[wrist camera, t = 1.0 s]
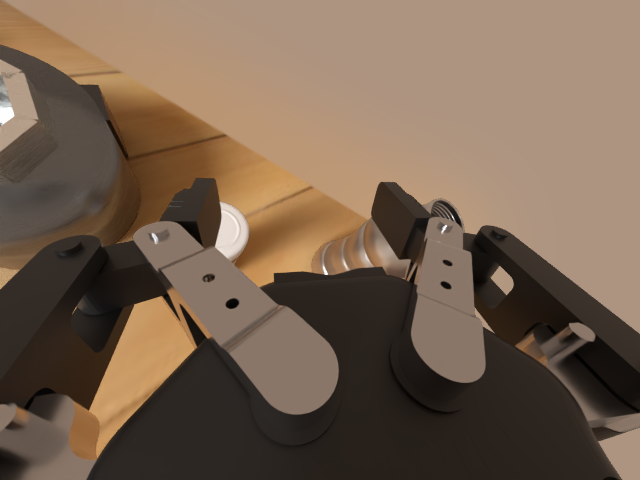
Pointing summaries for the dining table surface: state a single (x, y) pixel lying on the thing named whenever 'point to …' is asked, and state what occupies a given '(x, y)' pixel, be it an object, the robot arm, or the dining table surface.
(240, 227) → the spice jar
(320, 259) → the plastic bottle
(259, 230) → the dining table surface
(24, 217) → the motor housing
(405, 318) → the robot arm
